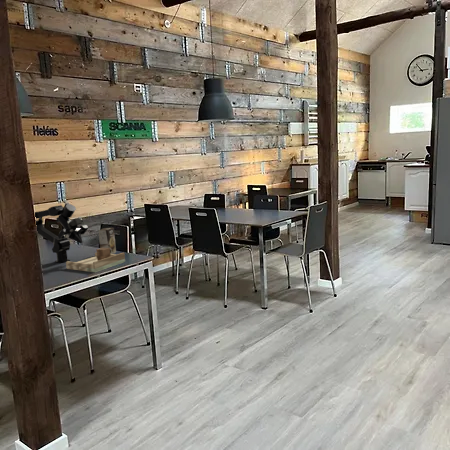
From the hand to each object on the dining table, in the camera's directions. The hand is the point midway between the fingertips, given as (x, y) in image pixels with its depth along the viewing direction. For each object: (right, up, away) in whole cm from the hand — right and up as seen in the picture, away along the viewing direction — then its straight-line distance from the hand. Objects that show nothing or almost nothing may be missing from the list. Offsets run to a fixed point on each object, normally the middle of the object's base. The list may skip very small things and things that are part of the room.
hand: (81, 242), depth 260 cm
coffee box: (+9, -8, +24) cm, 27 cm away
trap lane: (+9, -13, -3) cm, 16 cm away
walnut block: (+15, -11, -6) cm, 19 cm away
